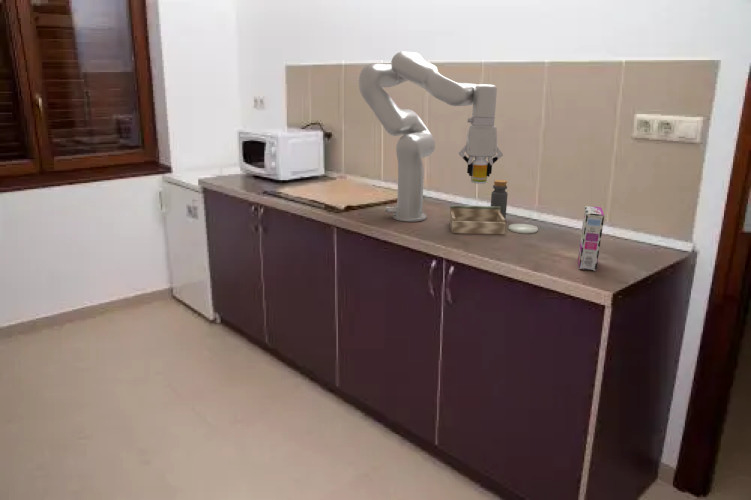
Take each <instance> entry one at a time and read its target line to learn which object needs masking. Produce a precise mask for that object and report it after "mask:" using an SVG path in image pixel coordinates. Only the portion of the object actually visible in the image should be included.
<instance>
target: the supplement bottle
mask: <svg viewBox="0 0 751 500" xmlns="http://www.w3.org/2000/svg"><path fill="white" fill-rule="evenodd" d="M486 159H487V157H474V159H473V160H472V165H473V166H472V176H470V182H471V183H472V184H477V185H479V184H480V185H481V184H483V185H484V184H486V183H487V180H488V176H487V168H488V160H486Z"/></svg>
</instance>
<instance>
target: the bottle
mask: <svg viewBox="0 0 751 500" xmlns="http://www.w3.org/2000/svg"><path fill="white" fill-rule="evenodd" d="M507 182H508V181H507V180H505V179H504V180H503V179H495V180H494V181H493V184H494V185H493V186H492V188H493V189H494V190H493V191H491V197H490V198H491V199H490V206H495V207H501V210H500V213H501V214H502V215H503V217H504V218H505V220H506V218H507V217H506V216H507V208H508V207H507V205H508V191H506V190H507V189H508V186H507Z"/></svg>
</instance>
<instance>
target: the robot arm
mask: <svg viewBox="0 0 751 500" xmlns="http://www.w3.org/2000/svg"><path fill="white" fill-rule="evenodd" d="M407 81H409V82H410V83H412V84H414V85H416V86H418V87H420V88H422V89H424V90H425V91H426V92H427V93H428V94H429V95H431V96H432V97H433V98H435V99H437V100H439V101H441V102H443V103H445V104H447V105H450V106H452V107H466V106H472V115H471V117H469V118H467V123H469V124H471V125H469V126H468V131H467V137H466V143H465V145H464V146H463V148H461V150H460V151H459V152H458V155H459V156H460V157H461V158H462V159H463V160H464V161H465V162H466V164H467V168H466V169H467V171H466V173H467V174H468V176H469V177H471V176H472V166H473V165H472V162H473V161H474V159H475V157H486V159H487V162H488V168H487V178H488V177H489V178H490V176H491V174H492V169H493V166H494V164H495V163H496V162H497V161H498V160H499V159H501V158H502V157H503V156H504V154H503V153H502V151H501V150H500V149H499V147H498V131H497V126H495V120H496V119H495V118H496V108H497V107H496V106H497V97H498V96H497V95H498V88H497V86H496V85H495V84H489V83H488V84H487V83H486V84H485V83H479V84H476V83H471V82H456V81H454V80H452V79H449V78H448V77H445V76H444V75H442V74H441V73H440V72H439V69H438V66H436V65H435V64H433V63H431V62H428V61H427V60H425V59H424V57H423V56H422V55H421V54H420V53H419V52H416V51H415V52H414V51H406V50H403V51H400V52H397V53H395V55H394V56H393V57H392V58H391V62H390V63H378V62H377V63H369V64H367V65H365V66H364V67H363V68H362V69H361V71H360V73H359V77H358V88H359V91H360V95H361V96H362V99H364V101H365V103H366V104H367V105H368V106H369V108H370V109H371V110H372V112H373V114H374V115H375V117H376V118H377V120H378V121H379V122H380V124H381V125H382V126H383V128H384V130H385V131H386V133H387V134H388V135H390V136H393V137H397V136H398V137H399V136H401V137H400V138H399V139H398V141H397V143H396V148H395V150H396V157H397V197H396V198H397V199H396V200H397V201H396V203H397V204H396V206H385V211H384V212H386V213H388V214H390V213H391V214H392V218H393V219H394V220H395V221H400V222H408V223H410V222H413V223H415V222H421V221H425V220H426V219H427V215H426V214H425V213H424V212H423V205H424V182H425V181H424V179H425V177H424V176H425V175H424V174H425V171H424V164H423V159H422V158H426V157H428V156H430V155H432V154H433V153H434V151H435V148H436V140H435V138H434V136H433V134H432V133H431V131H430V130H429V128H428V127H427V126H426V123H424V121H423V120H422V119H421V117H420V116H419V114H418V113H416V112H415V111H414V110H412V109H408V108H400V107H399V106H398V104H397V103H396V102H395V100H394V99H393V97H392V96H391V95H390V94H389V93H388V92H387V91H386V90H384V89H385V88H392V87H395V86H398V85H401V84H403V83H404V82H407ZM465 153H466V154H465Z"/></svg>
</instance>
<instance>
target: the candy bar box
mask: <svg viewBox="0 0 751 500" xmlns="http://www.w3.org/2000/svg"><path fill="white" fill-rule="evenodd" d="M604 221H605V214H604V210H603V207H600V206H589V205H588V206H587V205H586V206H584V212H583V217H582V226H581V234H580V241H579V249H578V255H577V256H578V257H577V261H578V269H579V270H580V269H583V270H582V271H588V270H593V271H592V272H597V268H598V262H599V254H600V248H601V240H602V233H603V229H604V227H603V226H604Z"/></svg>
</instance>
